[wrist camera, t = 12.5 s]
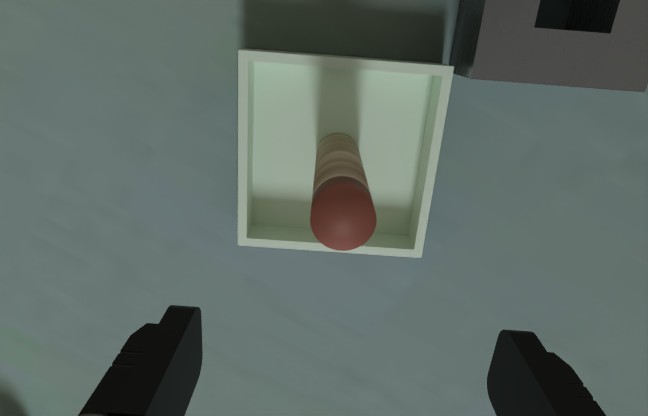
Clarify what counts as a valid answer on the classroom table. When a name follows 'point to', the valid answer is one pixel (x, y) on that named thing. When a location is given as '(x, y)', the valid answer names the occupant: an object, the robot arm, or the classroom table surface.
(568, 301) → the classroom table surface
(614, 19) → the socket block
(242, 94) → the tray
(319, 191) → the pin
